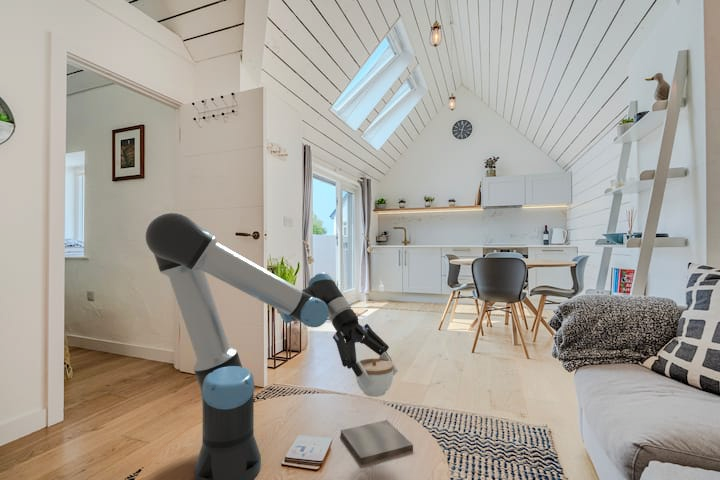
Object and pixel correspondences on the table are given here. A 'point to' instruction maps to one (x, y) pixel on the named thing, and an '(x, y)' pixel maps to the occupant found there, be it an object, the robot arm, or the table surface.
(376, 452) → the brown metal plate
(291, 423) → the table surface
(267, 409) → the table surface
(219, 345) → the robot arm
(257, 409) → the table surface
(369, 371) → the lidded jar
